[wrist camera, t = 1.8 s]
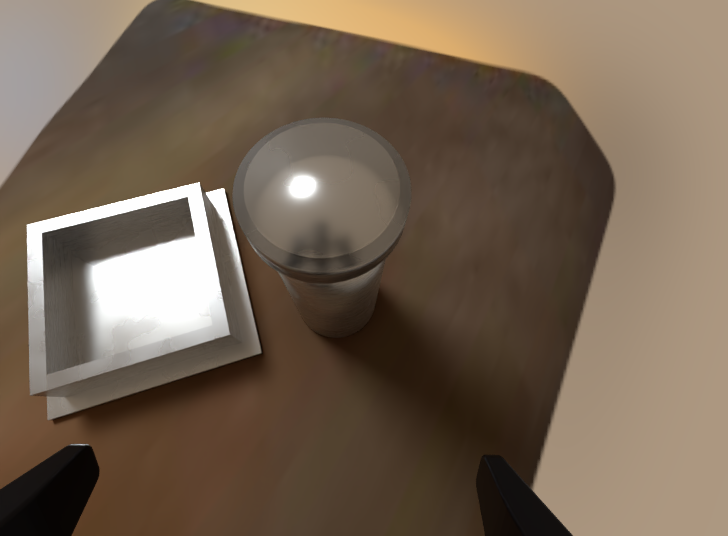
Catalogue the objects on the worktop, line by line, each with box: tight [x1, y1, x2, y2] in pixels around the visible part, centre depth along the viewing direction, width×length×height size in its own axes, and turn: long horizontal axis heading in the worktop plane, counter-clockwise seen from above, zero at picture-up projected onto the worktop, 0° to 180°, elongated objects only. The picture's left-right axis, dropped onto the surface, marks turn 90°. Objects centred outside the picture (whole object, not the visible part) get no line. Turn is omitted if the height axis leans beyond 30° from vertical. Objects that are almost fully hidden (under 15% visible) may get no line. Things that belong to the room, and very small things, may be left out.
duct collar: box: [27, 183, 263, 420], centre depth 23 cm, size 12×12×3 cm
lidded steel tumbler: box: [233, 118, 411, 338], centre depth 18 cm, size 6×6×13 cm
